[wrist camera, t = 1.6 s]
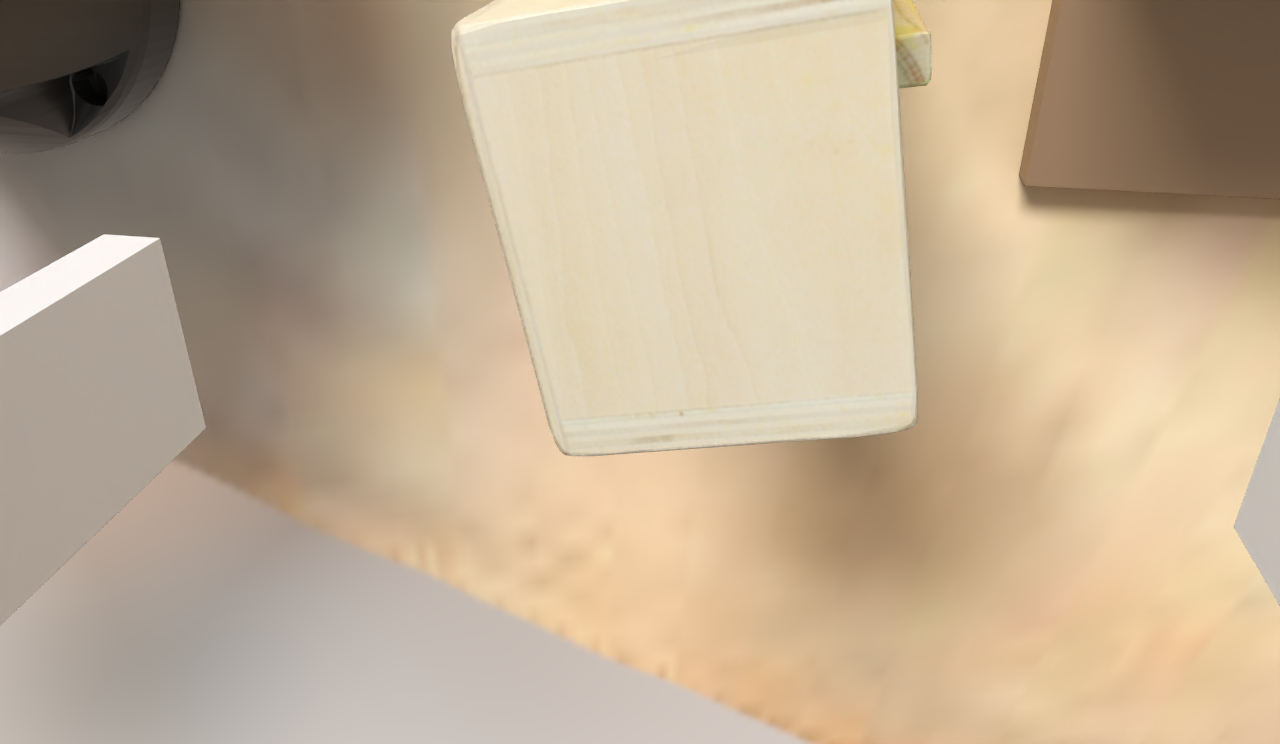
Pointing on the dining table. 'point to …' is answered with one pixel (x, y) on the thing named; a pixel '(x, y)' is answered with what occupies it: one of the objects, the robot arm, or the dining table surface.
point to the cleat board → (1158, 98)
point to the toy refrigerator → (702, 212)
